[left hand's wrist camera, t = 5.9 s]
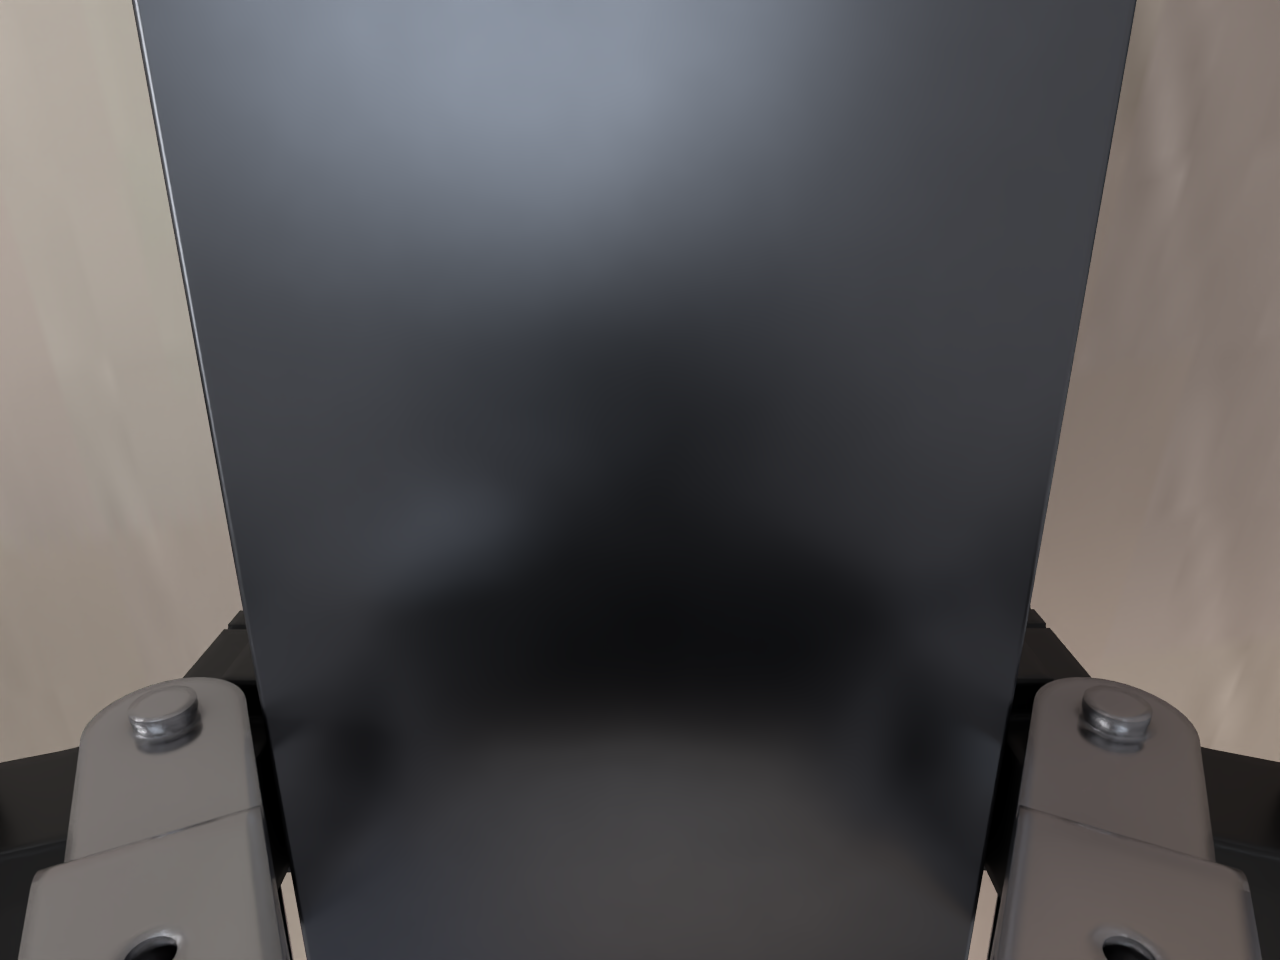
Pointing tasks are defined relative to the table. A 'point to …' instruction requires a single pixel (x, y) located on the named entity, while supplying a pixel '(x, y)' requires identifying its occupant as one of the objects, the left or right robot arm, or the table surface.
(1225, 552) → the table surface
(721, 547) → the box
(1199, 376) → the table surface
